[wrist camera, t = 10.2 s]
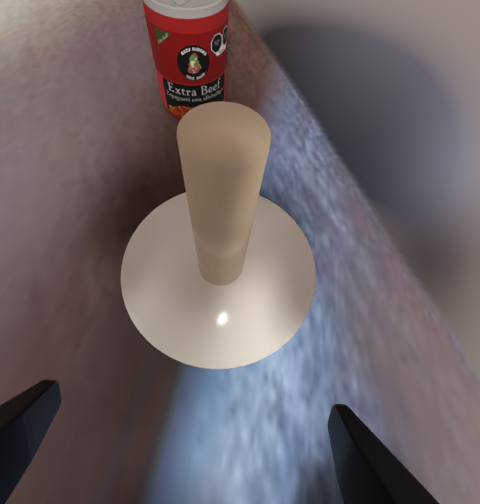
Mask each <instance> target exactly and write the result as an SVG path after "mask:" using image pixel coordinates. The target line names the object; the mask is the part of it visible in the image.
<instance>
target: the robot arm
mask: <svg viewBox="0 0 480 504" xmlns="http://www.w3.org/2000/svg"><path fill="white" fill-rule="evenodd" d="M60 404H61V395H60V388H59V383H58V381H56V380H43V381H41V382H39V383H37V384H35V385H34V386H32V387H30V388H29V389H27V390H25V391H24V392H22V393H20V394H19V395H17V396H15V397H14V398H12V399H10V400H9V401H7V402H5V403H4V404H2V405H0V504H5V503H6V501H7V500H8V498H9V496H10V495H11V493H12V492H13V490H14V489H15V487H16V485H17V484H18V482H19V481H20V479H21V477H22V476H23V474H24V473H25V471H26V469H27V468H28V466H29V464H30V463H31V461H32V459H33V457H34V456H35V454H36V452H37V450H38V448H39V446H40V444H41V442H42V440H43V438H44V436H45V434H46V433H47V431H48V429H49V427H50V425H51V423H52V421H53V419H54V417H55V415H56V413H57V411H58V409H59V407H60ZM328 432H329V437H330V443H331V448H332V453H333V459H334V464H335V469H336V474H337V479H338V484H339V488H340V492H341V495H342V499H343V502H344V504H439V503H438V502H437V500H436V499H435V498H434V497H433V496H432V495H431V494H430V493H429V492H428V491H427V490H426V489H425V488H424V487H423V486H422V485H421V483H420V482H419V481H418V480H417V479H416V478H415V477H414V476H413V475H412V474H411V473H410V472H409V471H408V470H407V469H406V468H405V467H404V465H403V464H402V463H401V462H400V461H399V460H398V459H397V458H396V457H395V456H394V455H393V454H392V453H391V452H390V451H389V450H388V448H387V447H386V446H385V445H384V444H383V443H382V442H381V441H380V440H379V439H378V438H377V437H376V436H375V435H374V434H373V433H372V432H371V430H370V429H369V428H368V427H367V426H366V425H365V424H364V423H363V422H362V421H361V420H360V419H359V418H358V417H357V416H356V415H355V413H354V412H353V411H352V410H351V409H350V408H349V407H348V406H346V405H344V404H334V405H333V406H332V409H331V413H330V416H329V420H328Z"/></svg>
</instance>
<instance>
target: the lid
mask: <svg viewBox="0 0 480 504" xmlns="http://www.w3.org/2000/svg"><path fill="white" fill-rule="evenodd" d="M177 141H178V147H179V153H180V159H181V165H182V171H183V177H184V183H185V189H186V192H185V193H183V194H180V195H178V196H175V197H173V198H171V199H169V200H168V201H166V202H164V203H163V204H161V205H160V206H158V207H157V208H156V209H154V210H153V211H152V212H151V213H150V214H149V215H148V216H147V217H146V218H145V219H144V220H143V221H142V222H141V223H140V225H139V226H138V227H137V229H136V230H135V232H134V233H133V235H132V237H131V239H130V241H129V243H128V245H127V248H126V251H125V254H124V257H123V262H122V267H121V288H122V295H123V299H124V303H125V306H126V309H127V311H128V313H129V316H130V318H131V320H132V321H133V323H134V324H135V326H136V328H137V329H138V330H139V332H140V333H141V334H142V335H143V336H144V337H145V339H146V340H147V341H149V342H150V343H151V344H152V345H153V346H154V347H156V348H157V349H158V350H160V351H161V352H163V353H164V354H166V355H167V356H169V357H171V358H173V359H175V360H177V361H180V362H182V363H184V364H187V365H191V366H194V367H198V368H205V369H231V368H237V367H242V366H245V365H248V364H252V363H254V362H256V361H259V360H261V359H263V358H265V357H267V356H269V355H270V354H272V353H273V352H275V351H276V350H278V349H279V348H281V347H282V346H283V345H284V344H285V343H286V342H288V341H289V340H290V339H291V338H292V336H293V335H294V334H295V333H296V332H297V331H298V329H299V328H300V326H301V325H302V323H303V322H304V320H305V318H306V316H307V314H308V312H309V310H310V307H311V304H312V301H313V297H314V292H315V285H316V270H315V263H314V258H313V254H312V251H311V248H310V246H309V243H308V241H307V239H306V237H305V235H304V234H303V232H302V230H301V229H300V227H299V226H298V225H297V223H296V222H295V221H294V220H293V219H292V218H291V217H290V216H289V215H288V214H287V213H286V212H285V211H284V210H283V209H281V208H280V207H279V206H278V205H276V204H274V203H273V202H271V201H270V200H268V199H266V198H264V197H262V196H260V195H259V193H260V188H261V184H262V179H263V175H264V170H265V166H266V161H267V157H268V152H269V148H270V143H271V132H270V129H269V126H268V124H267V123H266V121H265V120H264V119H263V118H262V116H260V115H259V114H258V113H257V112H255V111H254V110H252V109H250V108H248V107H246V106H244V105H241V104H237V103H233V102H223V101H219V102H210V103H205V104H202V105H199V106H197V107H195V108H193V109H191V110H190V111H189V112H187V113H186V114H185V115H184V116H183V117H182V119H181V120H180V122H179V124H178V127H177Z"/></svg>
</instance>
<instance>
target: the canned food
mask: <svg viewBox="0 0 480 504" xmlns="http://www.w3.org/2000/svg"><path fill="white" fill-rule="evenodd" d="M142 1H143V6H144V12H145V17H146V22H147V27H148V32H149V37H150V42H151V47H152V52H153V57H154V62H155V67H156V71H157V76H158V81H159V86H160V91H161V96H162V100H163V103H164V105H165V107H166V109H167V110H168V112H169V113H170V114H171V115H172V116H174V117H175V118H177V119H179V120H181V119H182V117H183V116H184V115H185V114H186V113H187V112H189V111H190V110H191V109H193V108H195V107H197V106H199V105H202V104H205V103H210V102H219V101H223V102H225V99H226V69H227V38H228V0H142Z"/></svg>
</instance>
